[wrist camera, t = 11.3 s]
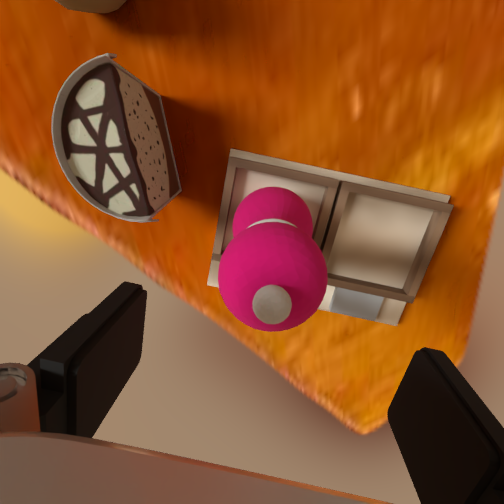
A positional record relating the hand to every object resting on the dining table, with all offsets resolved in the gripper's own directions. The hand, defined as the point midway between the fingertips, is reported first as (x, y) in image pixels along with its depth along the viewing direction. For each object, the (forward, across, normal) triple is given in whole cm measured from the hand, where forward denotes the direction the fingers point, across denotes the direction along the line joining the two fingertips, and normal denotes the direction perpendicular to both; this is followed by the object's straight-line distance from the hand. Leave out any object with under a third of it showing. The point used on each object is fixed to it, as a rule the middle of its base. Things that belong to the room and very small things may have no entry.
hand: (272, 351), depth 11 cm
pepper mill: (+23, 0, +1) cm, 23 cm away
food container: (+24, +15, -3) cm, 28 cm away
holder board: (+24, -5, +2) cm, 24 cm away
